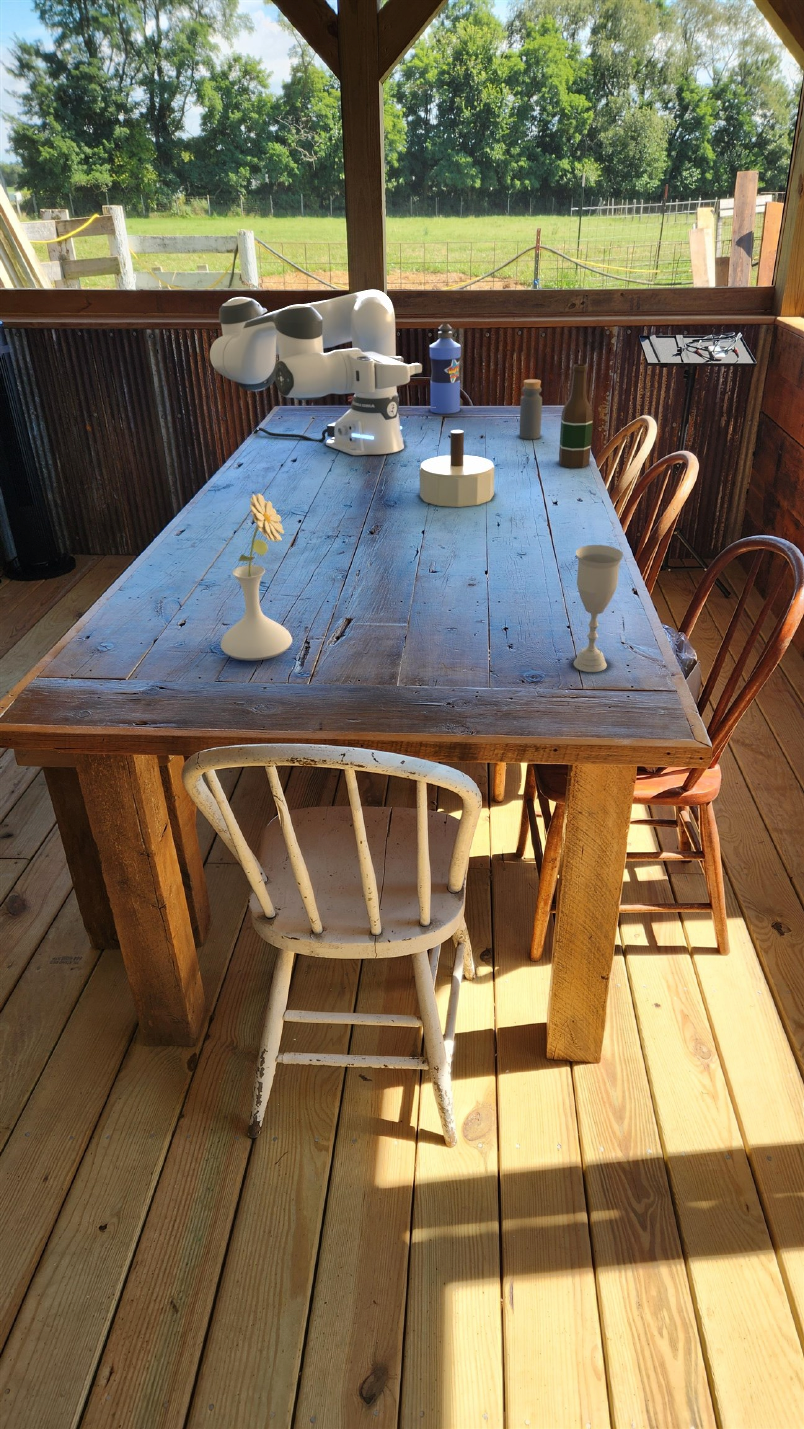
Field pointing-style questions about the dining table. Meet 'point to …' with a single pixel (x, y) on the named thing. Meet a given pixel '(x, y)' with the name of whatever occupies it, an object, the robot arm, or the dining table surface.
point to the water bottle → (445, 373)
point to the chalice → (596, 595)
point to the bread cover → (456, 477)
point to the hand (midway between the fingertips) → (411, 363)
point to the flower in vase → (256, 597)
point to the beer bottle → (576, 423)
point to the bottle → (530, 410)
